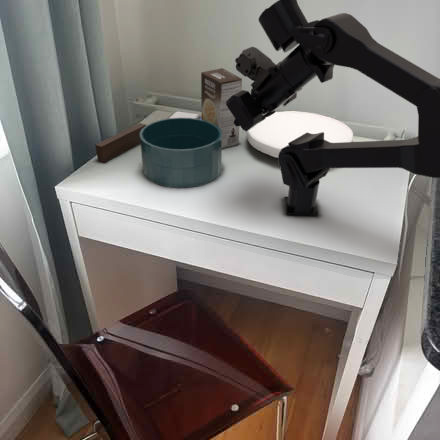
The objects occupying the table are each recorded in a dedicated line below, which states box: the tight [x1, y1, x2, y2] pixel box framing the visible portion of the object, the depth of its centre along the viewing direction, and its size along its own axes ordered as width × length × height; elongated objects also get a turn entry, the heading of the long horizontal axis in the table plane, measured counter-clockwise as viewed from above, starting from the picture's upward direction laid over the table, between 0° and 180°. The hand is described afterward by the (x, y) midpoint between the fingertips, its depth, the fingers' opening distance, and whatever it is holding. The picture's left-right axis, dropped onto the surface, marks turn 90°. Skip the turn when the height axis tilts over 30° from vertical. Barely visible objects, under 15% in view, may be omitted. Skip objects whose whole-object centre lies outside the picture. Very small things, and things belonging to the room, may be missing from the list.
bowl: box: [139, 117, 223, 189], centre depth 103 cm, size 18×18×8 cm
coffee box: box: [200, 67, 243, 149], centre depth 112 cm, size 9×6×16 cm
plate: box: [245, 110, 354, 159], centre depth 114 cm, size 28×6×27 cm
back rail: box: [95, 122, 147, 164], centre depth 111 cm, size 2×16×4 cm, turn 148°
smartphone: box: [166, 110, 200, 119], centre depth 125 cm, size 7×1×15 cm
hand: (235, 123), depth 91 cm, fingers closed
